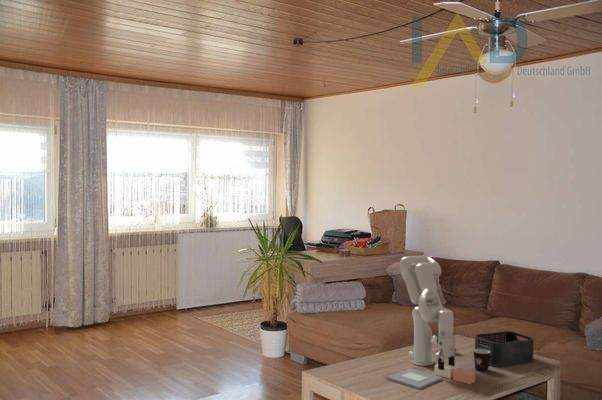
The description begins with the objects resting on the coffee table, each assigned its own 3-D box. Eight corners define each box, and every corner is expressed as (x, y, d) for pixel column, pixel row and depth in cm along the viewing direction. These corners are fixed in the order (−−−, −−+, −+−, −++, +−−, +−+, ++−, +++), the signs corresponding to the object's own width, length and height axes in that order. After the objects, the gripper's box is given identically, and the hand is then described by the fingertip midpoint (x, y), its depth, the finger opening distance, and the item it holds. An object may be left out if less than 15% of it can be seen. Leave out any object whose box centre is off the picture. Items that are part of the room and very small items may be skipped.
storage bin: (510, 352, 338) (511, 329, 337) (536, 362, 320) (536, 338, 320) (471, 358, 326) (472, 334, 326) (496, 368, 309) (496, 343, 308)
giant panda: (454, 351, 338) (454, 335, 338) (453, 354, 333) (453, 337, 333) (429, 348, 344) (429, 332, 344) (427, 351, 339) (427, 334, 339)
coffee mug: (469, 368, 308) (469, 349, 308) (482, 366, 311) (483, 348, 311) (484, 375, 297) (484, 356, 297) (497, 373, 301) (497, 354, 300)
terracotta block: (453, 380, 290) (453, 370, 290) (458, 377, 294) (458, 367, 294) (469, 384, 284) (469, 374, 284) (475, 381, 288) (475, 371, 288)
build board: (386, 379, 291) (386, 376, 291) (409, 370, 305) (409, 367, 304) (419, 389, 276) (419, 386, 276) (442, 379, 290) (442, 377, 290)
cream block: (434, 374, 298) (434, 365, 298) (440, 372, 302) (440, 362, 302) (450, 379, 292) (450, 369, 292) (455, 376, 296) (455, 366, 296)
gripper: (443, 338, 287) (443, 372, 287) (461, 332, 299) (461, 365, 299) (430, 335, 293) (430, 369, 293) (448, 330, 305) (449, 362, 305)
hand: (446, 367), depth 296 cm, fingers open, 9 cm apart
